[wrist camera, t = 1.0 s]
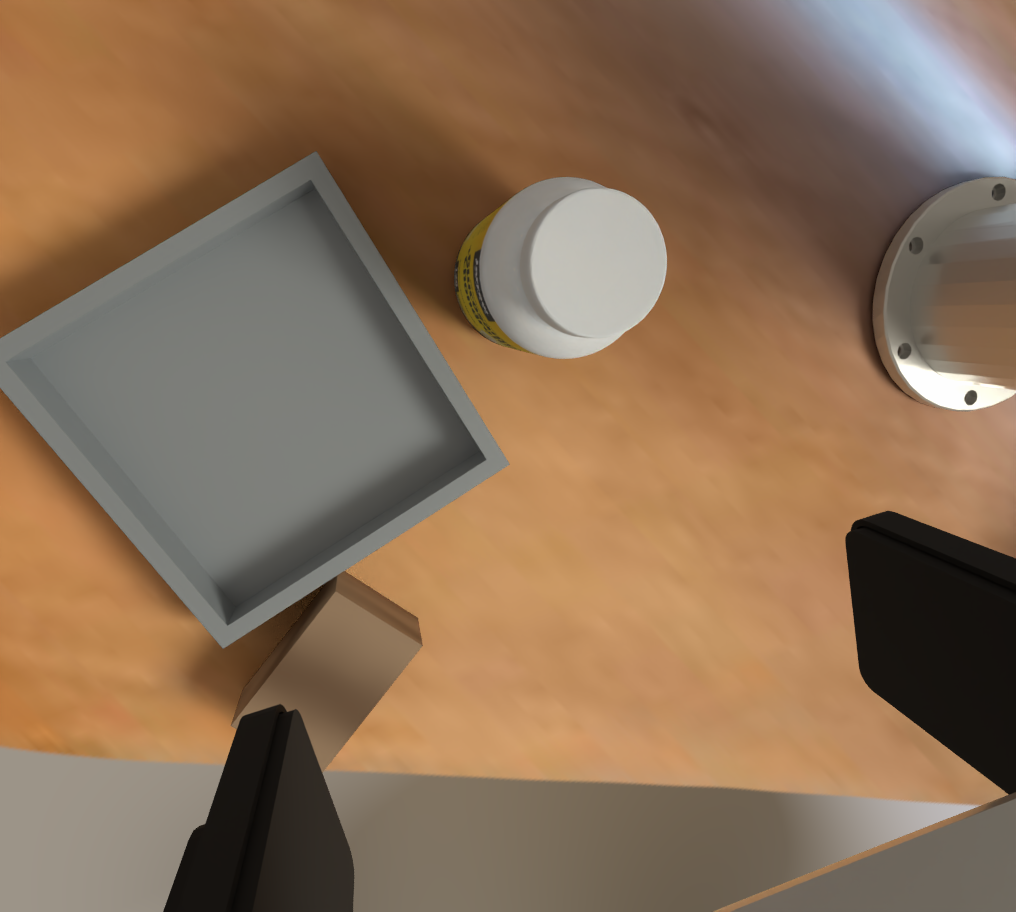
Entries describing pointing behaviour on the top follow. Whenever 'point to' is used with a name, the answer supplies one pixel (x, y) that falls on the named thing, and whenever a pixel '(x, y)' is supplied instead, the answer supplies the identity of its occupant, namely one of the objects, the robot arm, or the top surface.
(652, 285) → the pill bottle
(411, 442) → the tray
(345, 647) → the walnut block
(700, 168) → the top surface
